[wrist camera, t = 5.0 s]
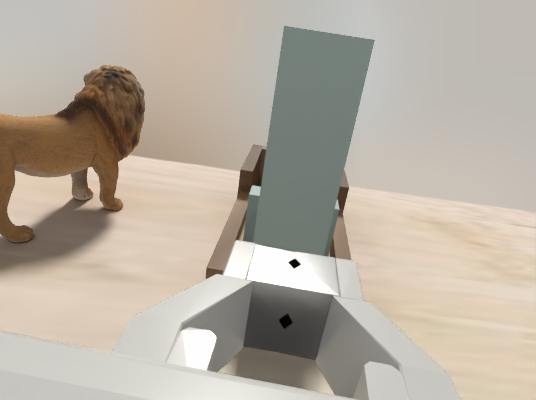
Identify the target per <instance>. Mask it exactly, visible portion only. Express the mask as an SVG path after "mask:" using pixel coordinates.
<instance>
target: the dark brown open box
mask: <svg viewBox="0 0 536 400" xmlns="http://www.w3.org/2000/svg"><path fill="white" fill-rule="evenodd" d="M266 149H267V147H265V146H258V145H253V146H252V148H251V150H250V152H249V154H248V156H247V158H246V160H245V162H244V164H243V166H242V168H241V171H240V180H239V188H238V195H239V193H240V191H244V192H250V190H251V188H252V185H254V186H260V187H261V183H262V176H263V169H264V162H265V155H266ZM348 190H349V186H348V182H347V178H346V175H345V171H343V176H342V180H341V184H340V188H339V193H338V197H337V200H338V204H339V208H342V213H343V210H344V206H345V202H346V198H347V194H348ZM237 198H238V196H237Z"/></svg>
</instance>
